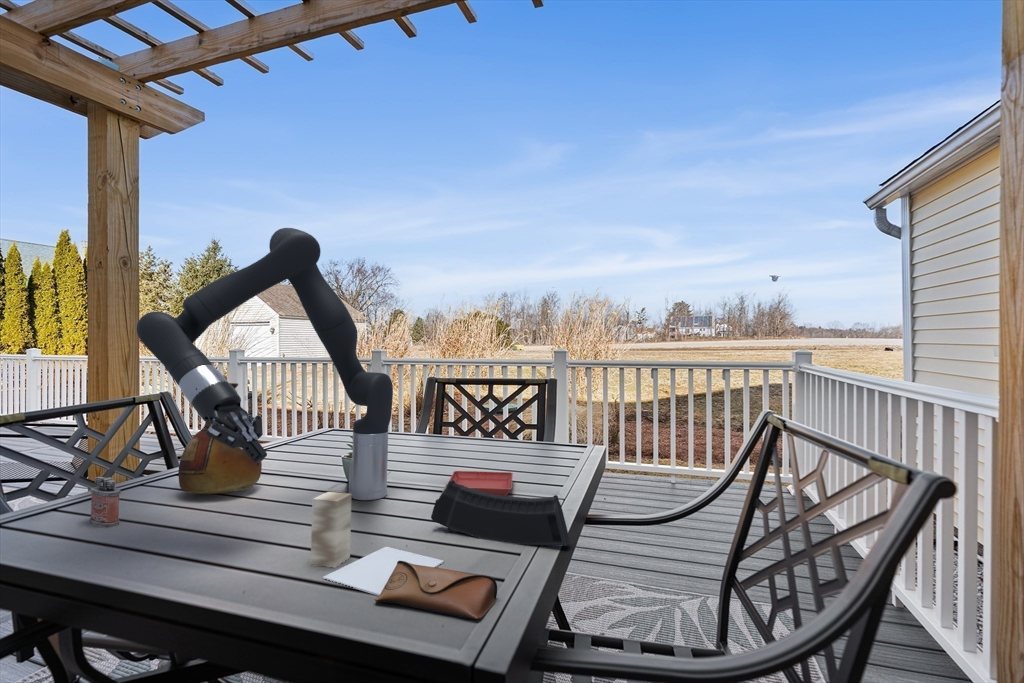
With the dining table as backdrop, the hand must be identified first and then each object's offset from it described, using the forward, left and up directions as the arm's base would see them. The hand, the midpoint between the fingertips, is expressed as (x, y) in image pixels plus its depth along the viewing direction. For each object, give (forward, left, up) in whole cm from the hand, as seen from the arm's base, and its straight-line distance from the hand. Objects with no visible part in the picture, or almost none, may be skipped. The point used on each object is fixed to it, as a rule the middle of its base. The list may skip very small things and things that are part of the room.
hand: (261, 458), depth 99 cm
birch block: (+15, +4, -18) cm, 23 cm away
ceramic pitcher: (-45, +22, -18) cm, 54 cm away
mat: (+26, +6, -18) cm, 32 cm away
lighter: (-43, -6, -18) cm, 47 cm away
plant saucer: (+13, +62, -19) cm, 66 cm away
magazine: (+36, +30, -18) cm, 50 cm away
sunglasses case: (+41, +1, -18) cm, 44 cm away
